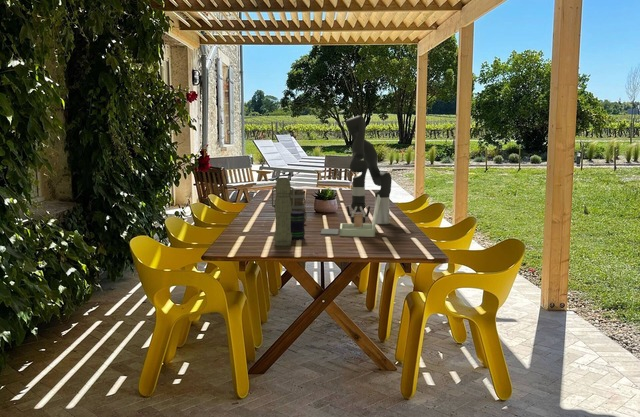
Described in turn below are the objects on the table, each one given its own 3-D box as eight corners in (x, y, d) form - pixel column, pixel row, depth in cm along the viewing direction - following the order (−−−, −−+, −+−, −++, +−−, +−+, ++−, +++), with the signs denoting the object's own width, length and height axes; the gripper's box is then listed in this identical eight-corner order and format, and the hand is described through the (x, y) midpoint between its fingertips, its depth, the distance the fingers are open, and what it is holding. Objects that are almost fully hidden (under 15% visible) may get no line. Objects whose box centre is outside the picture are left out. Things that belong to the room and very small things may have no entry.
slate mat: (338, 230, 346) (338, 229, 346) (338, 235, 330) (338, 233, 330) (322, 229, 347) (322, 228, 347) (320, 234, 331) (320, 233, 331)
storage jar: (300, 241, 312) (300, 213, 310) (284, 239, 316) (284, 212, 314) (307, 237, 322) (307, 211, 320) (291, 236, 325) (291, 210, 323)
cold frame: (378, 230, 347) (379, 194, 344) (379, 236, 327) (380, 198, 324) (340, 229, 348) (341, 193, 345) (339, 235, 328) (340, 197, 325)
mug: (304, 212, 416) (305, 191, 414) (286, 212, 417) (286, 191, 414) (306, 208, 436) (306, 188, 434) (288, 208, 436) (288, 188, 434)
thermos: (295, 246, 299) (295, 178, 294) (272, 246, 297) (272, 178, 292) (293, 242, 307) (294, 177, 302) (271, 243, 306) (271, 177, 301)
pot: (363, 225, 340) (363, 213, 339) (363, 227, 334) (363, 215, 333) (353, 225, 340) (353, 213, 339) (353, 227, 334) (353, 215, 333)
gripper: (370, 193, 338) (370, 222, 340) (346, 193, 338) (345, 222, 341) (371, 195, 330) (370, 224, 333) (346, 195, 331) (345, 224, 334)
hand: (358, 223), depth 337 cm, fingers closed on pot, 5 cm apart
